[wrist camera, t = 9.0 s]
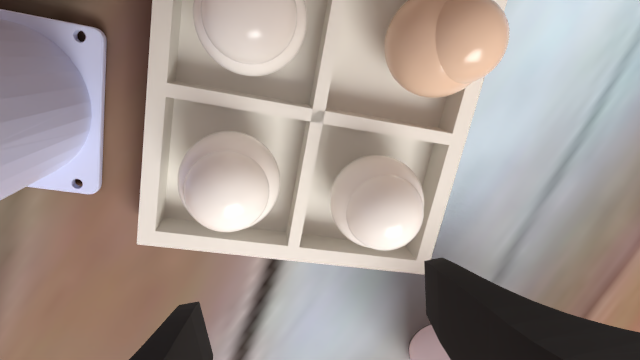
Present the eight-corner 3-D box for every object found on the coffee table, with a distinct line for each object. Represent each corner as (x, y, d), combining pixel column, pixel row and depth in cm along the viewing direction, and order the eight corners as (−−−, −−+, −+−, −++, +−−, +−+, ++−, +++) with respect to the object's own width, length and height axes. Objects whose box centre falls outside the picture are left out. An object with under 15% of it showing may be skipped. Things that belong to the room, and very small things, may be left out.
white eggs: (184, 203, 20) (156, 251, 15) (208, -43, 17) (183, -86, 12) (394, 229, 22) (431, 280, 17) (450, 14, 19) (516, -2, 14)
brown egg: (391, 118, 19) (489, 117, 15) (347, 35, 17) (446, 5, 13) (441, 66, 21) (544, 52, 17) (407, -15, 19) (514, -57, 14)
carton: (149, 225, 21) (136, 244, 19) (173, -94, 17) (159, -116, 15) (412, 255, 24) (426, 274, 22) (487, -14, 20) (513, -23, 17)
